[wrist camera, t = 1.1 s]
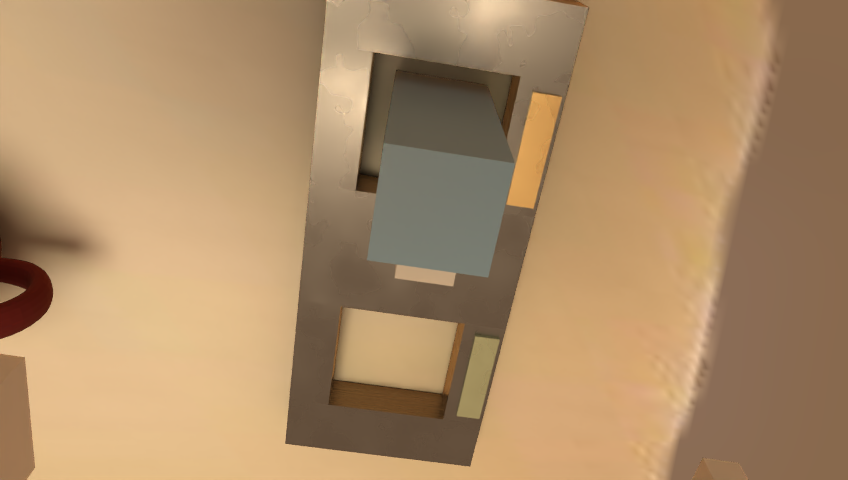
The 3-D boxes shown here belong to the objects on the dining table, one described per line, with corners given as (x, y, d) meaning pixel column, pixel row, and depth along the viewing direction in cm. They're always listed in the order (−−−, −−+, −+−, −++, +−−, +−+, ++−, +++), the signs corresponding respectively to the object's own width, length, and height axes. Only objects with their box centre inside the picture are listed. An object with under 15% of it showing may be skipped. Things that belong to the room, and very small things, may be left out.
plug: (396, 69, 29) (383, 142, 20) (487, 85, 29) (515, 163, 20) (381, 173, 31) (364, 281, 22) (466, 186, 31) (483, 298, 22)
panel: (336, -42, 27) (329, -37, 25) (578, 1, 28) (590, 8, 26) (291, 418, 37) (284, 446, 35) (467, 440, 38) (470, 469, 36)
